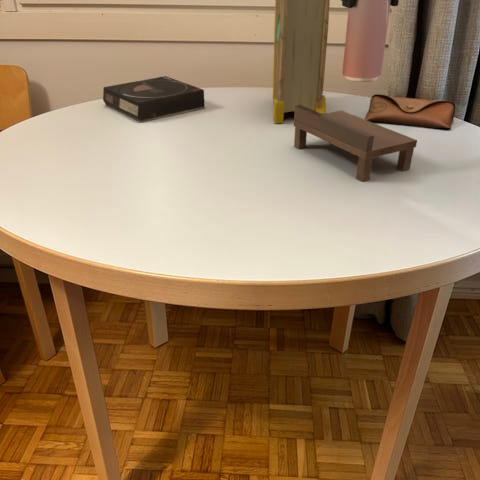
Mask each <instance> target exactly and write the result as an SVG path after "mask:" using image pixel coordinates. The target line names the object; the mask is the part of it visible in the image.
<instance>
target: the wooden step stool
mask: <svg viewBox="0 0 480 480" xmlns="http://www.w3.org/2000/svg"><path fill="white" fill-rule="evenodd" d="M293 113H294V116H293V127H294V140H293V141H294V142H293V147H294V148H296V149H299V150H300V149H301V150H302V149H305V148H306V147H307V133H308V134H310V135H312V136H315V137H316V138H318V139H321V140H323V141H325V142H327V143H329V144H331V145H333V146H336V147H338V148H340V149H342V150H343V151H346V152H348V153H350V154H352V155H354V156H357V157H358V160H357V169H356V175H355V179H356V180H358V181H360V182H366V181H370V179H371V174H372V173H371V171H372V167H373V158H377V157H378V158H379V157H381V156H382V157H383V156H385V155H390V154H394V153H398V158H397V163H396V169H398V168H399V169H398V170H400V169H401V170H400V171H402V170H404V171H407V170H406V169H408V170H410V169H411V166H412V160H413V155H414V149H415V148H416V147H417V144H418V140H417V139H415V138H413V137H410V136H407V135H405V134H403V133H401V132H397V131H395V130H393V129H390V128H388V127H385V126H382V125H380V124H376V123H374V122H373V121H367V120H364V119H365V118H361V117H359V116H357V115H354V114H352V113H349V112H348V111H347V112H346V111H344V110H342V109H341V110H336V111H331V112H326V113H325V114H321V113H318V112H316V111H314V110H311V109H309V108H306V107H304V106H302V105H297V106H295V111H294V112H293ZM409 168H410V169H409Z"/></svg>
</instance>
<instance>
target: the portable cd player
mask: <svg viewBox="0 0 480 480" xmlns="http://www.w3.org/2000/svg"><path fill="white" fill-rule="evenodd" d="M102 101H103V102H104V104H105V106H107V107H109V108H111V109H112V110H115V111H117V112H119V113H120V114H123V115H125V116H127V117H129V118H131V119H133V120H135V121H137V122H138V123H145V122H149V120H150V121H154V120H158V119H163V118H168V117H172V116H177V115H181V114H185V113H186V114H187V113H190V112H195V111H199V110H203V109H206V107H205V106H206V105H205V104H206V103H205V90H204V88H200V87H197V86H195V85H192V84H188V83H186V82H183V81H180V80H178V79H175V78H172V77H170V76H166V75H164V76H158V77H154V78H153V77H152V78H147V79H142V80H136V81H131V82H125V83H119V84H114V85H113V84H112V85H108V86H103V94H102Z"/></svg>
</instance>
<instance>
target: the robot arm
mask: <svg viewBox="0 0 480 480" xmlns="http://www.w3.org/2000/svg"><path fill="white" fill-rule="evenodd" d="M340 1H341V5H342V7H344V8H346V9H349V8H352V7H354V1H355V0H340ZM399 1H400V0H391V7H398V5H399Z"/></svg>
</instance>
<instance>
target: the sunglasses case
mask: <svg viewBox="0 0 480 480" xmlns="http://www.w3.org/2000/svg"><path fill="white" fill-rule="evenodd" d="M455 112H456V104H455V102H453V101H450V100H445V99H444V100H432V99H423V98H412V97H401V96H390V95H387V94H379V93H376V94H373V95H372V96H371V97H370V101H369V106H368V111H367V113H366V115H365V117H364V118H363V119H364V120H367V121H370V122H380V123H387V124H394V125H403V126H411V127H417V128H427V129H428V128H429V129H452V126H453V123H454V116H455Z"/></svg>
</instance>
